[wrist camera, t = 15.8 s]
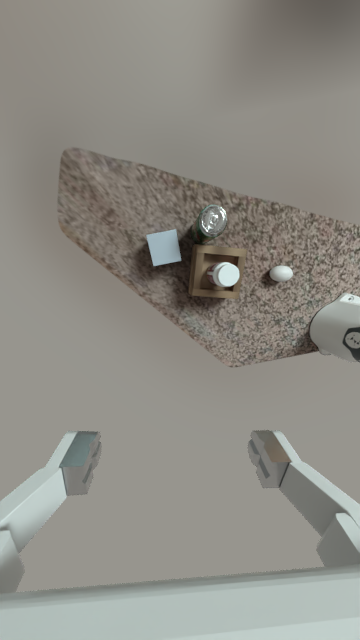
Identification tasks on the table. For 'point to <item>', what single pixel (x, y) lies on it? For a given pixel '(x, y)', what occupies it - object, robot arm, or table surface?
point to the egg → (281, 273)
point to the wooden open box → (203, 260)
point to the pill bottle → (223, 274)
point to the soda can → (209, 224)
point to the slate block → (164, 247)
